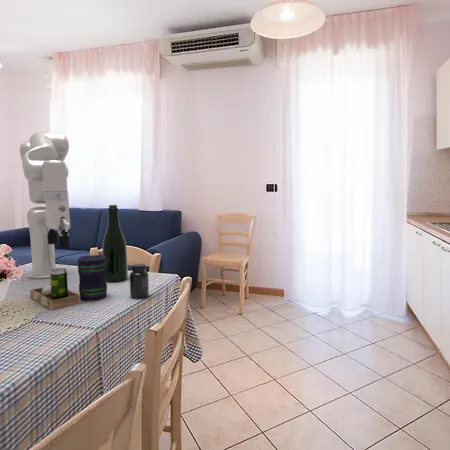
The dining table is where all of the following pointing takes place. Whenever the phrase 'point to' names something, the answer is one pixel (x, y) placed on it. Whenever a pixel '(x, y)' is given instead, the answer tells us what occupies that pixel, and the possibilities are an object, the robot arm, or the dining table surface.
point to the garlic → (46, 290)
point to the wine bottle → (114, 248)
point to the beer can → (59, 283)
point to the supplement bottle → (139, 282)
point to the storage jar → (92, 277)
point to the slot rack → (54, 304)
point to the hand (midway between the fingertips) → (58, 245)
